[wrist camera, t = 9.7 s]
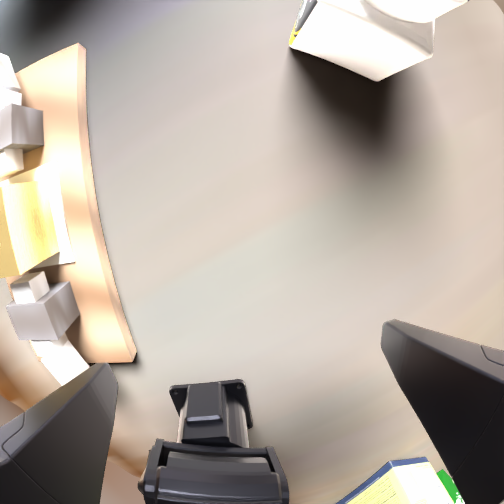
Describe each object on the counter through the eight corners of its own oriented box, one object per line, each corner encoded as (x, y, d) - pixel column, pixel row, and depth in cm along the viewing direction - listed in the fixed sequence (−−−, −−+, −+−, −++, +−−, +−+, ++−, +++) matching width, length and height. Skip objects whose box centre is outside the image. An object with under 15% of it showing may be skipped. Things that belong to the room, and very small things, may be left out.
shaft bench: (140, 361, 22) (125, 405, 17) (50, 362, 21) (26, 396, 16) (86, 38, 14) (55, 11, 9) (-5, 84, 14) (-42, 75, 9)
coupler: (46, 179, 15) (1, 186, 11) (60, 250, 17) (20, 274, 12) (9, 193, 15) (-35, 202, 10) (22, 258, 17) (-18, 281, 12)
